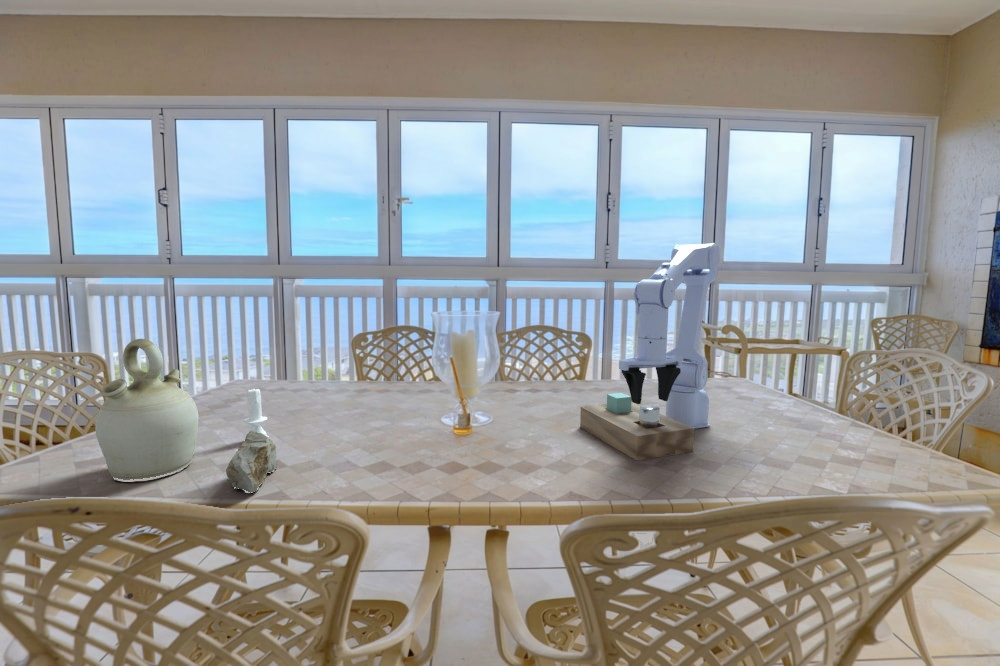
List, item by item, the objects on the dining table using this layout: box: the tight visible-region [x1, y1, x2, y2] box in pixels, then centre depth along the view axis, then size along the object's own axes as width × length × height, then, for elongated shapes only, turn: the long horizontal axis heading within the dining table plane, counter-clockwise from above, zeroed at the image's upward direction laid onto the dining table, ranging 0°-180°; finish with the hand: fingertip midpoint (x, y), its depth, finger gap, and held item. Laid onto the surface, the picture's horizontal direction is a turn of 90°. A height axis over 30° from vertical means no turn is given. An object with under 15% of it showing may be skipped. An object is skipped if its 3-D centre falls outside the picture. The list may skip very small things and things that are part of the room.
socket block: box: [579, 402, 695, 462], centre depth 104 cm, size 14×22×5 cm, turn 20°
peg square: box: [606, 392, 633, 414], centre depth 109 cm, size 4×4×5 cm
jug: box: [94, 338, 200, 480], centre depth 87 cm, size 15×16×25 cm
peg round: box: [639, 404, 661, 429], centre depth 99 cm, size 4×4×5 cm
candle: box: [243, 388, 269, 437], centre depth 103 cm, size 5×5×12 cm
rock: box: [225, 430, 278, 493], centre depth 82 cm, size 12×7×10 cm, turn 6°
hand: (649, 401), depth 98 cm, fingers open, 6 cm apart
